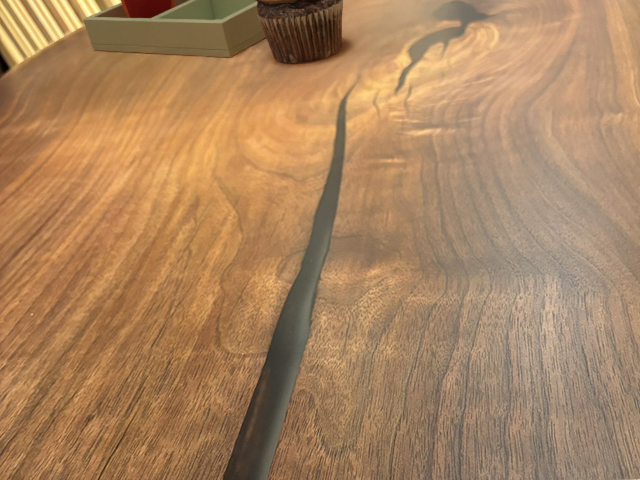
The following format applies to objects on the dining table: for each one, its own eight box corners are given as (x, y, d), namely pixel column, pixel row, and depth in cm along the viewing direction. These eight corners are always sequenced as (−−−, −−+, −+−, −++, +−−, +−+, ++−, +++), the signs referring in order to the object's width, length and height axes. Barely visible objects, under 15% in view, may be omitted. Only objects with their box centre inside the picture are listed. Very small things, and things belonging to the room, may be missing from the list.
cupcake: (252, 67, 80) (229, -34, 74) (286, 38, 87) (267, -56, 80) (332, 65, 77) (315, -40, 71) (360, 35, 84) (347, -63, 77)
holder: (230, 57, 84) (221, 22, 81) (93, 50, 94) (82, 19, 92) (288, 24, 91) (281, -9, 89) (155, 21, 101) (146, -9, 99)
